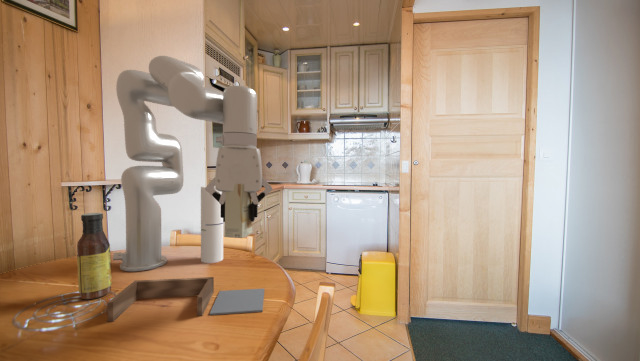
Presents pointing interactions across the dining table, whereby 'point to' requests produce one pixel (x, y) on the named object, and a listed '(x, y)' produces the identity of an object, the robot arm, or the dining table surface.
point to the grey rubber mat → (238, 302)
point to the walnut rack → (162, 293)
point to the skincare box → (238, 212)
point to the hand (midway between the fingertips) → (239, 219)
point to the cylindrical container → (211, 228)
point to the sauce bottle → (93, 258)
